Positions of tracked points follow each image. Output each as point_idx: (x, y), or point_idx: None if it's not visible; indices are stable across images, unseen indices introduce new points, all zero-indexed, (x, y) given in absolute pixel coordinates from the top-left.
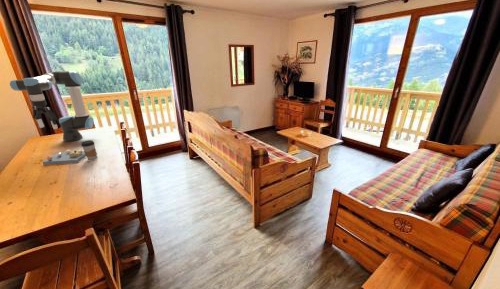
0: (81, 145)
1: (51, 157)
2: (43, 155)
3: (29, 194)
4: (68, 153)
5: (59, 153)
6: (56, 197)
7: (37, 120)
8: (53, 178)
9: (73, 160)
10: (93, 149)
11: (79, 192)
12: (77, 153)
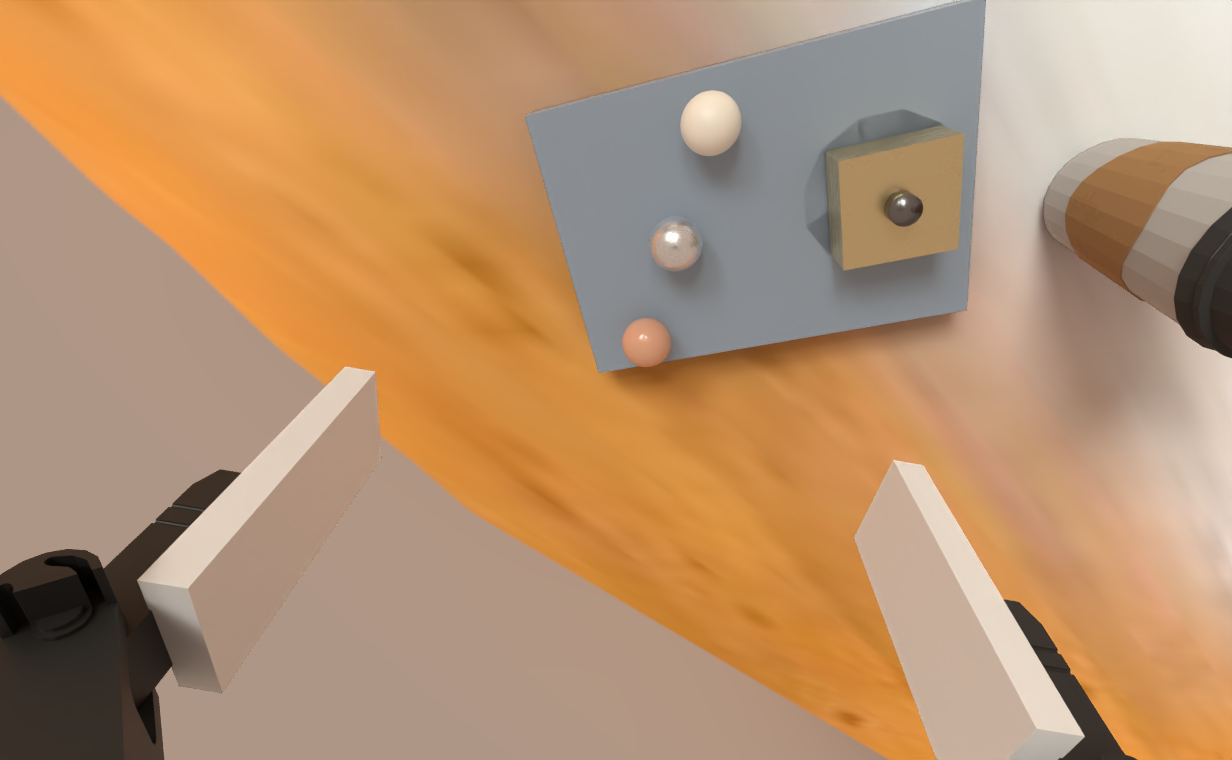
0: (1184, 323)
1: (670, 344)
2: (337, 129)
3: (889, 674)
4: None
5: (692, 257)
6: None
7: (239, 660)
8: None
9: (919, 314)
10: None
11: (1205, 667)
12: (955, 242)
